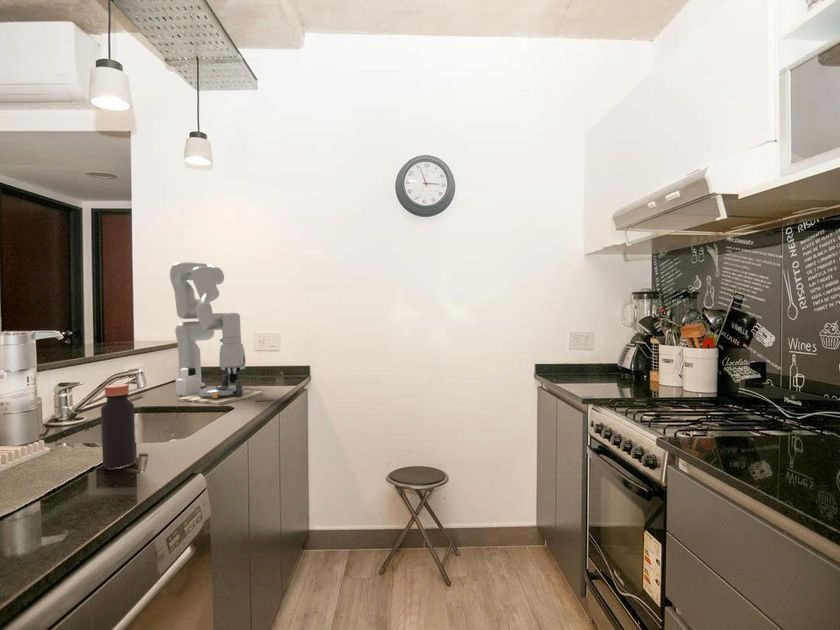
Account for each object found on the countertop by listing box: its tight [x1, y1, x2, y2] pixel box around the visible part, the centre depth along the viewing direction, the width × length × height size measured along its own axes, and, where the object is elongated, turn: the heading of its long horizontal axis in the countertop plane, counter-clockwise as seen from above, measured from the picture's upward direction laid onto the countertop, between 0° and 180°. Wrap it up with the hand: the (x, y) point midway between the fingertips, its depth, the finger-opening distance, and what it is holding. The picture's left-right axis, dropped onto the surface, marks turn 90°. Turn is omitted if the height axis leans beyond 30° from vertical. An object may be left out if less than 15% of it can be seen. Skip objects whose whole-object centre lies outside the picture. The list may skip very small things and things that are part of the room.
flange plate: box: [199, 374, 245, 398], centre depth 200 cm, size 18×20×6 cm
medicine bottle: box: [175, 367, 202, 397], centre depth 208 cm, size 7×7×12 cm
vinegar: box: [100, 383, 137, 468], centre depth 116 cm, size 7×7×20 cm
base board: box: [177, 379, 265, 406], centre depth 201 cm, size 24×24×8 cm
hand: (233, 382), depth 207 cm, fingers closed
